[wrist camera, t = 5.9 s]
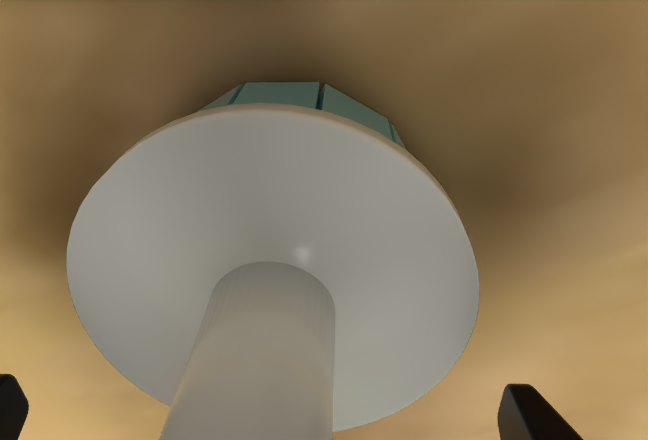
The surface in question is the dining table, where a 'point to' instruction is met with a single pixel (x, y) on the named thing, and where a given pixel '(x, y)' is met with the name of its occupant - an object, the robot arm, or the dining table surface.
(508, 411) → the robot arm
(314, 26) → the dining table surface
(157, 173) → the lid
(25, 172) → the dining table surface
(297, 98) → the bowl
